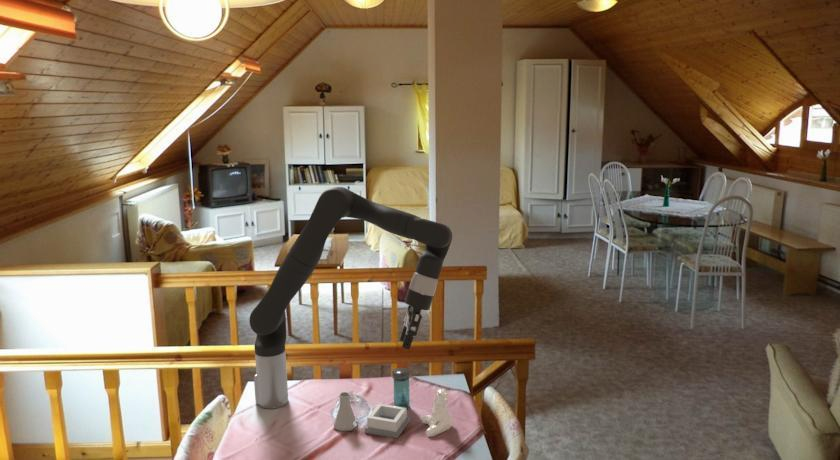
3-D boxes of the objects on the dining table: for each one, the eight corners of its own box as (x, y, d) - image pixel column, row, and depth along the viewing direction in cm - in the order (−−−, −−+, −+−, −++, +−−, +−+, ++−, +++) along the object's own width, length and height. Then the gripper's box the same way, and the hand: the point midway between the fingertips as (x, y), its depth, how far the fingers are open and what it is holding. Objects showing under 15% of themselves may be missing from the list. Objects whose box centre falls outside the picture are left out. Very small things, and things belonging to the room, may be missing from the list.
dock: (364, 432, 181) (364, 418, 180) (378, 415, 190) (377, 402, 189) (397, 438, 177) (397, 423, 176) (409, 421, 187) (409, 407, 186)
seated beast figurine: (420, 421, 187) (420, 383, 184) (449, 418, 188) (449, 380, 186) (427, 437, 178) (426, 398, 175) (456, 434, 179) (457, 395, 177)
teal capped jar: (390, 410, 193) (389, 374, 190) (396, 402, 198) (396, 366, 196) (407, 413, 191) (406, 376, 189) (413, 404, 196) (412, 369, 194)
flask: (353, 433, 181) (352, 401, 178) (329, 430, 182) (328, 399, 180) (361, 420, 187) (360, 389, 185) (337, 418, 189) (336, 387, 187)
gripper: (406, 283, 186) (390, 335, 186) (411, 290, 172) (393, 347, 172) (430, 290, 187) (414, 342, 187) (437, 298, 173) (419, 354, 173)
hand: (404, 344), depth 180 cm, fingers open, 8 cm apart
